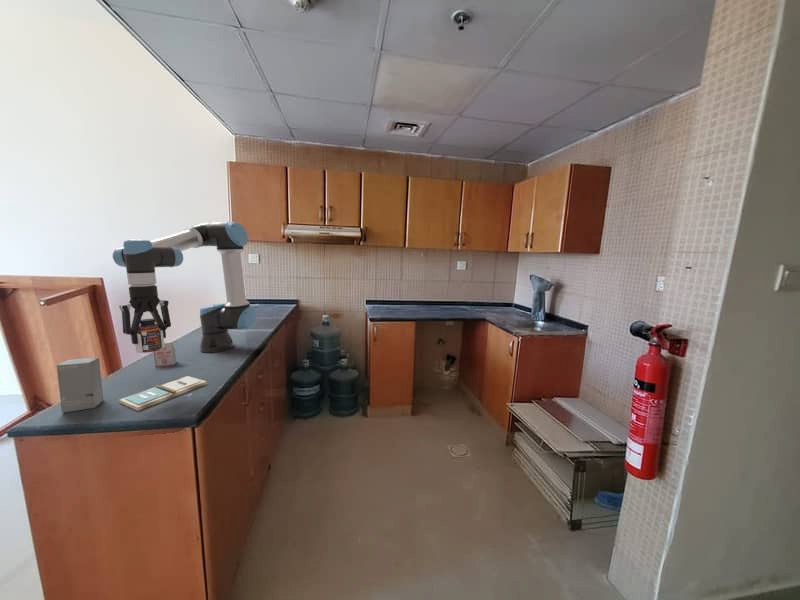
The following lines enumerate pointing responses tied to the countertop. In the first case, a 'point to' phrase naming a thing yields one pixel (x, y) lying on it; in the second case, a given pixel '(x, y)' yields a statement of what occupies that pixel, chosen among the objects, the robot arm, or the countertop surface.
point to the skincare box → (80, 384)
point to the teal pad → (147, 396)
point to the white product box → (165, 355)
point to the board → (163, 398)
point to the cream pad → (181, 383)
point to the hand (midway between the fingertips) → (150, 349)
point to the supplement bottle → (149, 335)
